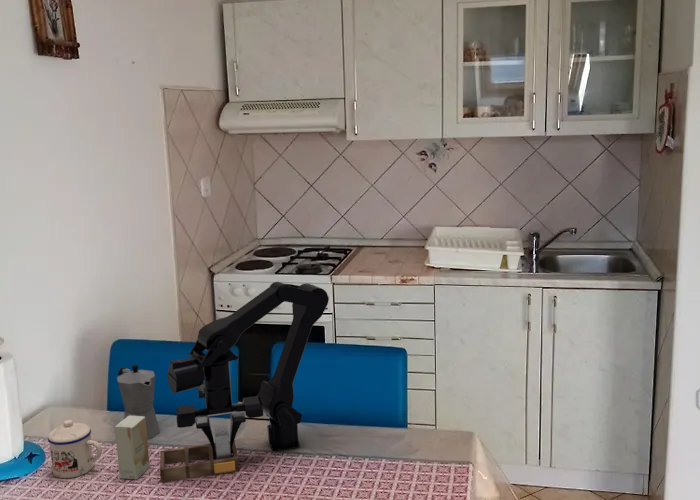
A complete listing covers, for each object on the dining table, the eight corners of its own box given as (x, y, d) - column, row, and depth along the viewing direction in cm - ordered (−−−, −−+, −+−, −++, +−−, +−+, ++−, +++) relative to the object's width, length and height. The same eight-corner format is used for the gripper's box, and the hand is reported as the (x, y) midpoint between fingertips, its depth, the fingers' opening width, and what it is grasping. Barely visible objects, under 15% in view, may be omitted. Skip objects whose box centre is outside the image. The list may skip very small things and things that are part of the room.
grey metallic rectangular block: (229, 456, 161) (226, 423, 159) (231, 468, 155) (229, 435, 153) (216, 458, 160) (213, 425, 158) (217, 470, 154) (215, 437, 153)
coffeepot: (171, 434, 173) (165, 366, 169) (136, 448, 166) (129, 377, 163) (141, 416, 183) (135, 352, 180) (107, 428, 177) (100, 361, 173)
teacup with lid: (43, 477, 154) (36, 428, 152) (68, 457, 162) (62, 411, 160) (91, 482, 151) (85, 432, 149) (114, 461, 160) (109, 414, 158)
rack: (235, 452, 163) (234, 440, 162) (239, 471, 153) (238, 459, 153) (161, 462, 159) (160, 450, 158) (161, 483, 150) (159, 470, 149)
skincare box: (137, 480, 151) (131, 428, 149) (118, 479, 152) (113, 427, 150) (151, 465, 157) (146, 415, 155) (133, 464, 158) (128, 414, 156)
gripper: (255, 364, 164) (259, 425, 167) (173, 373, 159) (179, 437, 162) (261, 381, 153) (265, 446, 156) (174, 392, 149) (180, 459, 152)
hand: (222, 446), depth 157 cm, fingers open, 4 cm apart
